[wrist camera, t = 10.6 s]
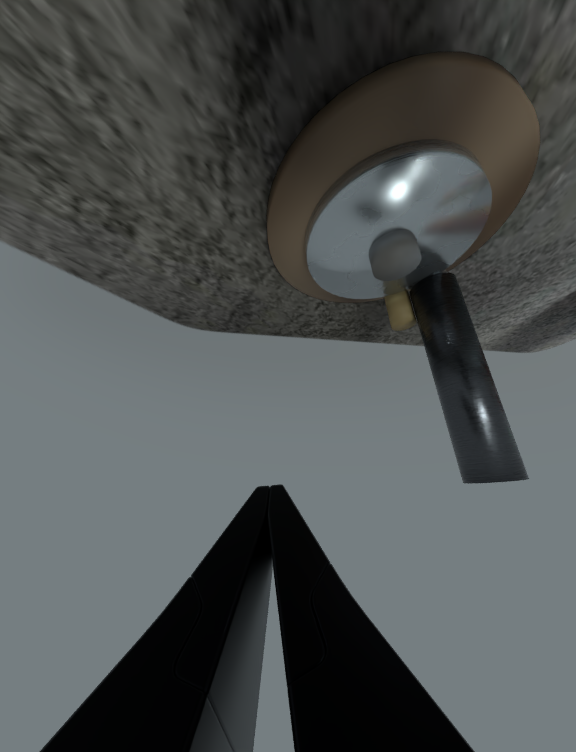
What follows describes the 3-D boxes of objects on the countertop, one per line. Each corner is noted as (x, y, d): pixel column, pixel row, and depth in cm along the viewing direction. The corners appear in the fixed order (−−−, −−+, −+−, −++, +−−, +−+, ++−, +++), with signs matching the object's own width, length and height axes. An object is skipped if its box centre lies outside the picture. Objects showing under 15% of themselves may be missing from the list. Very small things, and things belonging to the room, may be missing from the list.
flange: (270, 244, 15) (293, 506, 11) (443, 75, 9) (654, 504, 5) (379, 312, 23) (419, 483, 18) (514, 243, 17) (622, 472, 12)
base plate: (628, 35, 10) (697, 105, 8) (442, 283, 22) (457, 329, 20) (248, 67, 10) (253, 144, 8) (275, 299, 22) (279, 345, 20)
